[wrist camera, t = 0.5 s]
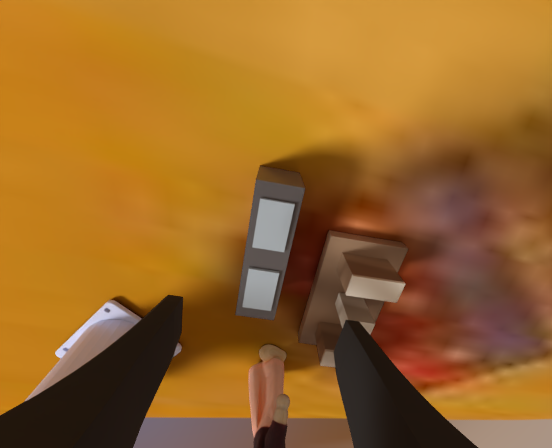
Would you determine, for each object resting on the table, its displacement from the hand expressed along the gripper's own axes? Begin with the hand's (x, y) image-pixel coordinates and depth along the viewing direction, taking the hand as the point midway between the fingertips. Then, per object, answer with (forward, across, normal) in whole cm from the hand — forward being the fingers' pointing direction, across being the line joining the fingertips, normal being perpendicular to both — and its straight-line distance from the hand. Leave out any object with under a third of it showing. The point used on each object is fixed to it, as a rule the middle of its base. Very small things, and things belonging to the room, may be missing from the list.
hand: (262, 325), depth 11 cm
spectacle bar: (+10, 0, 0) cm, 10 cm away
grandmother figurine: (+10, -3, +15) cm, 18 cm away
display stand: (+9, -8, +4) cm, 13 cm away
